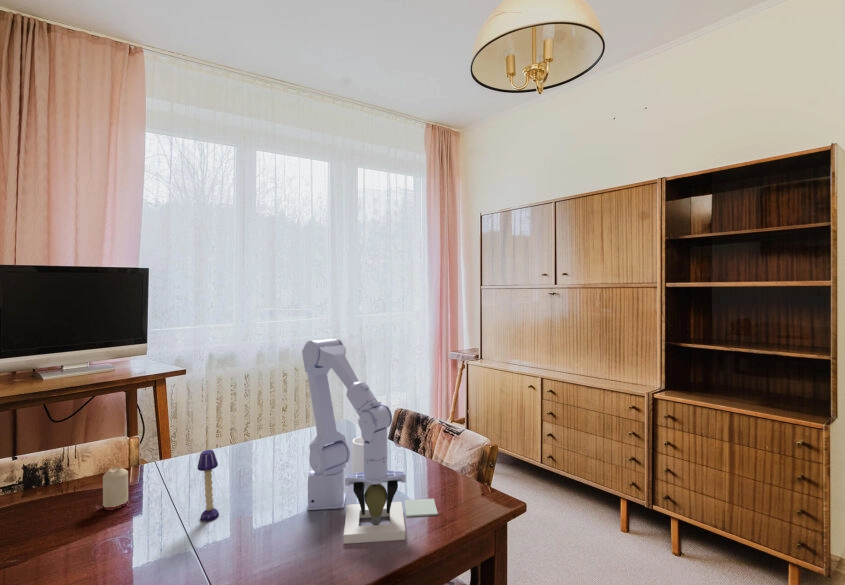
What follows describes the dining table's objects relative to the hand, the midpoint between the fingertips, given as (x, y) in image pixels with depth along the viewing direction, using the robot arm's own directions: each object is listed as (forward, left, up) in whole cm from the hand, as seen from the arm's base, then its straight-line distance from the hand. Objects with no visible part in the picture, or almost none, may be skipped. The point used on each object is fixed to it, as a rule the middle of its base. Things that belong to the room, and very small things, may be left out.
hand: (375, 512), depth 106 cm
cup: (-3, +34, -3) cm, 34 cm away
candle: (-69, +18, -3) cm, 72 cm away
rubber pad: (+12, +7, -3) cm, 14 cm away
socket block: (0, 0, -3) cm, 3 cm away
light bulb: (0, 0, -3) cm, 3 cm away
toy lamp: (-42, +9, -3) cm, 43 cm away
